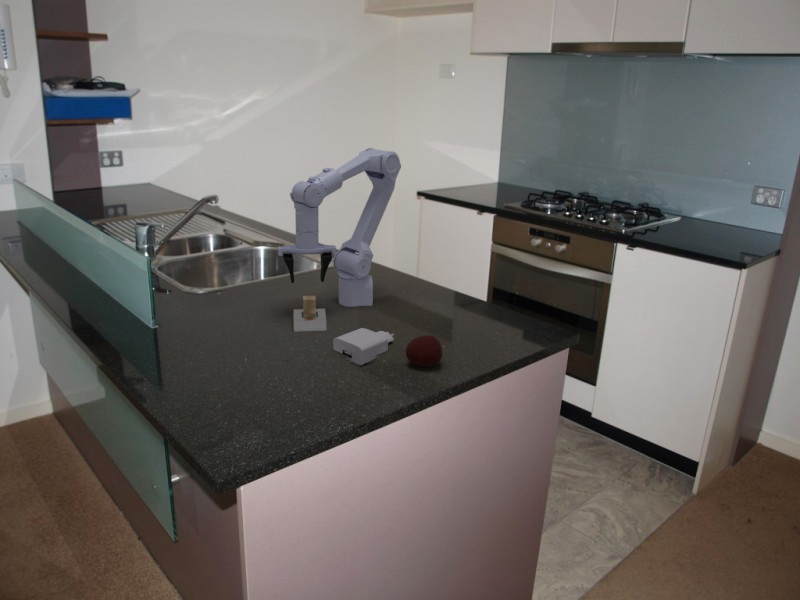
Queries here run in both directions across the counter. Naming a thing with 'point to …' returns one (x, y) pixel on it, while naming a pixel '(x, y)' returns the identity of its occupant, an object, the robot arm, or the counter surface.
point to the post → (309, 306)
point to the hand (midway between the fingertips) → (307, 281)
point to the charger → (362, 345)
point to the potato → (424, 351)
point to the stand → (309, 321)
